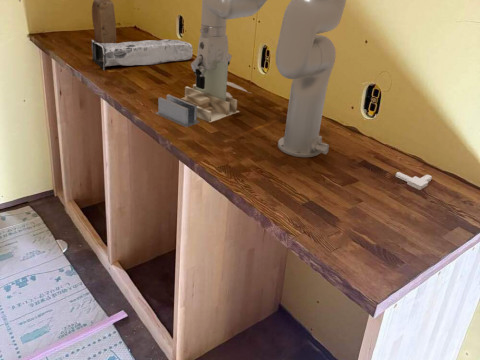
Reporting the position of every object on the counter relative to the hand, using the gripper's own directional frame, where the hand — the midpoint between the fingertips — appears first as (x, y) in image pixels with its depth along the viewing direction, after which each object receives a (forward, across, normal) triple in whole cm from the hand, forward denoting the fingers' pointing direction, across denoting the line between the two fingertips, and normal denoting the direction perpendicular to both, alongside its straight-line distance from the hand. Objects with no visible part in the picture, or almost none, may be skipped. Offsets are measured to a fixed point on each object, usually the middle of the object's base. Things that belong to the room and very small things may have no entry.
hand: (210, 84), depth 154 cm
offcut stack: (+7, -6, 0) cm, 9 cm away
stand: (+8, -16, -1) cm, 18 cm away
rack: (+8, -4, 0) cm, 9 cm away
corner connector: (+9, +6, -68) cm, 69 cm away
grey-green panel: (+7, 0, 0) cm, 7 cm away
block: (+9, +18, +83) cm, 85 cm away
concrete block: (+9, +17, +55) cm, 59 cm away
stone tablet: (+9, +16, +7) cm, 19 cm away
